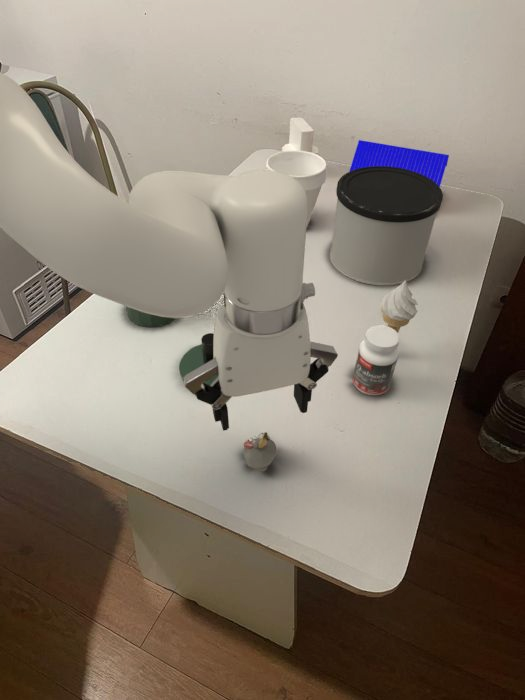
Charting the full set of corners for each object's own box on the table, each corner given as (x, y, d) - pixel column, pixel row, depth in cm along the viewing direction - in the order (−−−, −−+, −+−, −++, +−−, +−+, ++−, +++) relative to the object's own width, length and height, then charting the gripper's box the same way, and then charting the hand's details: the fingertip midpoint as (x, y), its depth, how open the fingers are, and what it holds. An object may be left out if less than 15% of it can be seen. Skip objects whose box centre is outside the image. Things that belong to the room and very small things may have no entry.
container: (321, 234, 109) (328, 166, 99) (407, 231, 111) (423, 163, 100) (338, 288, 96) (349, 216, 85) (436, 284, 97) (458, 212, 87)
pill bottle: (348, 390, 78) (357, 342, 71) (357, 365, 82) (366, 318, 75) (385, 401, 76) (398, 353, 69) (393, 375, 80) (406, 328, 73)
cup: (276, 204, 118) (278, 146, 109) (327, 215, 115) (334, 155, 106) (256, 231, 110) (256, 170, 101) (311, 243, 107) (316, 181, 97)
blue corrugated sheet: (431, 216, 115) (445, 166, 107) (345, 199, 121) (352, 150, 112) (439, 192, 123) (452, 144, 115) (358, 177, 129) (365, 130, 120)
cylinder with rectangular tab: (321, 178, 128) (326, 129, 120) (287, 182, 126) (289, 133, 118) (309, 163, 134) (313, 115, 126) (276, 167, 132) (278, 119, 124)
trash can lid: (185, 400, 76) (181, 369, 71) (175, 353, 83) (170, 322, 78) (252, 386, 78) (252, 356, 74) (236, 342, 85) (235, 311, 81)
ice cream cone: (365, 361, 82) (381, 286, 72) (373, 339, 86) (390, 265, 76) (400, 371, 81) (422, 295, 70) (407, 348, 85) (428, 273, 74)
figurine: (268, 480, 67) (269, 453, 62) (236, 469, 68) (235, 442, 63) (281, 448, 70) (283, 421, 66) (251, 439, 71) (251, 411, 67)
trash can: (130, 331, 87) (119, 286, 80) (125, 298, 93) (115, 254, 86) (184, 322, 89) (178, 277, 82) (176, 290, 95) (170, 246, 88)
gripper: (331, 266, 54) (318, 376, 66) (168, 293, 51) (186, 404, 63) (359, 310, 49) (340, 421, 61) (180, 344, 46) (197, 453, 58)
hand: (262, 412), depth 62 cm, fingers open, 9 cm apart
